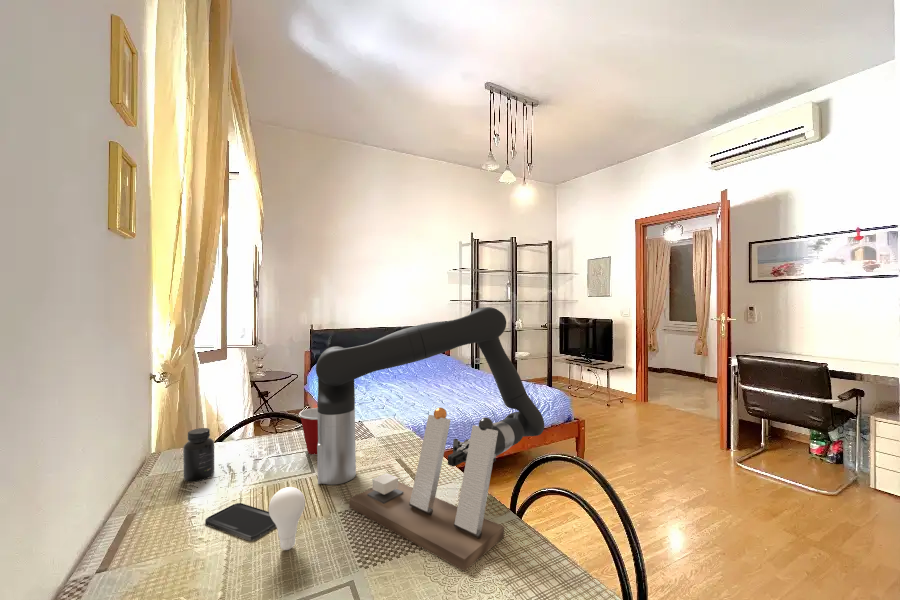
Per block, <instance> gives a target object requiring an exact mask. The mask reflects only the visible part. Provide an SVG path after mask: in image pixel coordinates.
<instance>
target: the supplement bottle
mask: <svg viewBox="0 0 900 600" xmlns="http://www.w3.org/2000/svg"><path fill="white" fill-rule="evenodd" d="M182 448H183V449H182V453H183V454H182V455H183V456H182V457H183V458H182V459H183V461H182V462H183V463H182V464H183V468H182V469H183V480H185V481H186V482H190V483H193V481H195V482H199V480H200V481H203V479H204V480H206V479H209V478H210V477H212V476H213V475H214V473H215V441H214V440H213V438H211V433H210V428H208V427H200V428H199V427H198V428H194V429H191V430H189V431H187V442H186V443H185V444H184V445H183V447H182ZM208 477H209V478H208Z"/></svg>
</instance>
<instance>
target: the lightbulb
mask: <svg viewBox="0 0 900 600" xmlns="http://www.w3.org/2000/svg"><path fill="white" fill-rule="evenodd" d="M305 507H306V499H305V495H304V493H303V492H302V491H301V490H300V489H299V488H297V487H293V486H286V487H283V488H281V489H278V491H277V492H276V493H275V492H274V495H273V496H272V497H271V499H270V502H269V504H268V512H269V514H270V517H271V519H272V520H273V522H274V523H275V525H276V529H277V536H278V538H279V548H280V549H281V550H284V551H289V550H291V549H292V548H293V547H294V546H295V545H296V537H297V535H296V534H297V533H298V532H297V530H298V525H299V521H300V519H301V517H302V514H303V512H304V511H305Z"/></svg>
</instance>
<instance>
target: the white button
mask: <svg viewBox="0 0 900 600" xmlns="http://www.w3.org/2000/svg"><path fill="white" fill-rule="evenodd" d="M371 482H372V484H371V486H372V487H373V490H375V491H378V492H380V493H382V494H384V495H385V494H388V493H390V492H391V491H393V490H395V489H397V488H398V482H399V477H397V476H395V475H392V474H390V473H387V472H385V473H384V474H383V473H382V474H380V475H378V476H377V477H375V478H374V477H373V478H372V480H371ZM372 487H371V488H372Z"/></svg>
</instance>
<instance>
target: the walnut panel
mask: <svg viewBox="0 0 900 600" xmlns="http://www.w3.org/2000/svg"><path fill="white" fill-rule="evenodd" d="M412 490H413V487H412V486H410V485H407V484H405V483H402V482H401V481H398V488H397V489H395V490H393V491H391V492H390V493H388V494H385V495H384V494H382V493H380V492H378V491H375V490H373V487H370V488H368V489H367V490H364V491H362V492H360V493H358V494H356V495H353V496H351V497H349V499H348V500H349V502H348V503H349V505H348V508H350V509H351V510H353V511H355V512H357V513H359V514H360V515H362V516H363V517H366V518H367V519H369V520H371V521H373V522H375V523H377V524H379V525H380V526H382V527H384V528H386V529H387V530H389V531H391V532H393V533H395V534H397V535H398V536H400V537H402V538H404V539H406V540H408V541H409V542H410V543H413V544H414V545H416V546H418V547H420V548H421V549H423V550H425V551H426V552H429V553H431V554H433V555H435V556H436V557H438V558H440V559H442V560H444V561H445V562H447V563H449V564H450V565H453V566H454V567H456V568H458V569H460V570H461V571H463V572H466V571H467V570H469V568H471V567H472V566H473V565H474V564H475V563H476V562H477V561H479V560H480V559H481V558H482V557H483V556H485V554H487V553H488V552H489V551H490V550H491V549H492V548H493V547H494V546H495V545H497V544H498V543H499V542H500V541H501V540H502V539H503V538H504V537H505V526H504V525H501V524H499V523H497V522H494V521H492V520H490V519H488V518H485V517H484V519H483V525H482V535H481V537H480V538H477V537H475V536H473V535H471V534H469V533H467V532H465V531H462V530H460V529H458V528H456V527H454V522H455V519H456V513H457V508H458V505H457V506H456V505H454V504H452V503H449V502H447V501H445V500H442V499H440V498H437V497H436V496H435V501H434V506H433V513H432V515H428V514H426V513H424V512H422V511H420V510H417V509H415V508H413V507H411V506H409V502H410V499H411V495H412Z"/></svg>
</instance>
